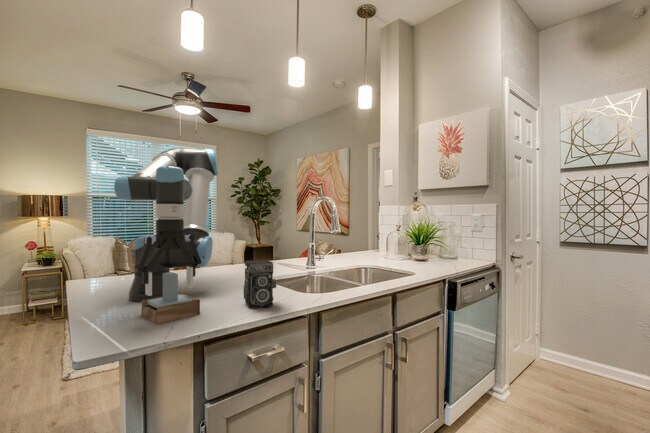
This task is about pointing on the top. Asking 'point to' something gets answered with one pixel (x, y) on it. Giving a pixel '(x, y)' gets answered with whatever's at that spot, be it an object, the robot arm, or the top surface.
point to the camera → (259, 283)
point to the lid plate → (164, 303)
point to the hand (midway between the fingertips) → (170, 291)
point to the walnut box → (171, 310)
